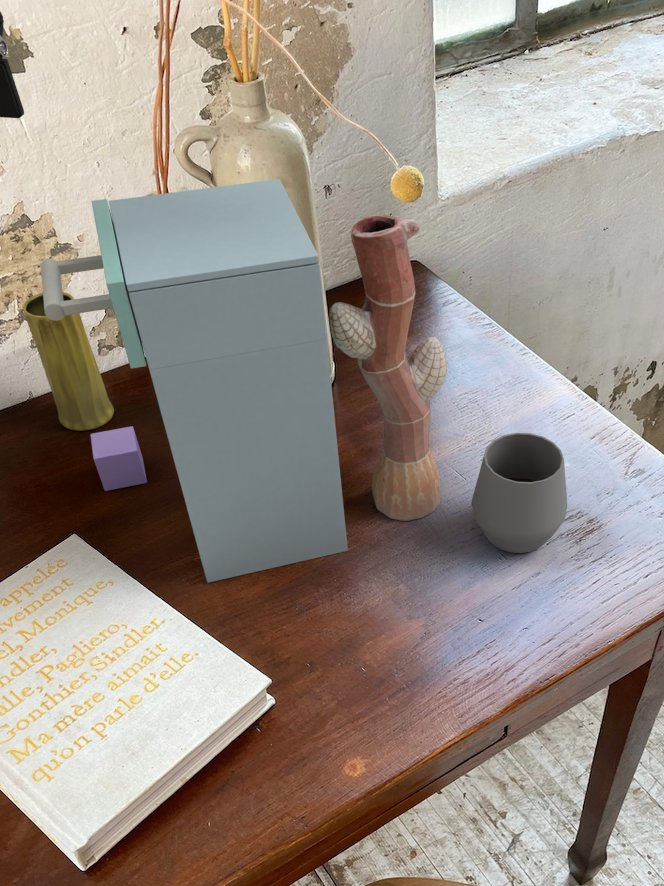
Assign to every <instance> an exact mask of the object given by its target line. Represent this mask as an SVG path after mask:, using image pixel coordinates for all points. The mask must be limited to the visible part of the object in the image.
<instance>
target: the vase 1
mask: <svg viewBox="0 0 664 886" xmlns="http://www.w3.org/2000/svg"><path fill="white" fill-rule="evenodd" d="M73 299H75V298H74V296H73V294H70V293H68V292H65V291H63V300H64V301H67V300H73ZM22 310H23V313H24V317H25V320H26V323H27V325H28V328H29V331H30V333H31V336H32V338H33V341H34V344H35V346H36V349H37V352H38V355H39V358H40V361H41V365H42V367H43V370H44V373H45V376H46V379H47V382H48V386H49V388H50V391H51V394H52V396H53V400H54V403H55V407H56V409H57V410H56V411H57V414H58V420H59V423H60V424H61V425H62V426H63V427H64V428H65V429H68V430H71V431H76V432H86V431H92V430H95V429H98V428H101V427H102V426H104V425H106V424H108V423H109V422H110V421H111V420H112V418H113V416H114V414H115V409H114V408H115V407H114V405H113V403H112V402H111V400H110V398H109V396H108V392H107V390H106V386H105V383H104V381H103V377H102V375H101V374H102V373H101V372H100V368H99V366H98V363H97V360H96V357H95V354H94V353H93V352H94V351H93V348H92V346H91V343H90V340H89V337H88V334H87V332H86V330H85V326H84V322H83V320H82V316H81V313H78V314H72V315H65V316H64V317H63V318H62V319H61V320H58V321H54V320H51V319H49V318H48V317H47V316H46V315H45V311H44V299H43V292H39V293H37V294H34V295H32V296H30V297H29V298H28V299H26V301H25V302H24V303H23V305H22Z"/></svg>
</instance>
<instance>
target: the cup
mask: <svg viewBox="0 0 664 886" xmlns="http://www.w3.org/2000/svg"><path fill="white" fill-rule="evenodd" d="M471 509H472V513H473V517H474V518H473V519H474V521H475V522H476V523H477V525H478V527H479V528H480V530H481V531H482V532H483V534H484V536H485V537H486V538H487V539H488V540H489V543H491V544H492V545H493V546H494V547H496V548H498V549H499V550H500V551H501V550H502V551H505V552H507V553H508V552H509V553H510V554H511V553H513V554H514V553H515V554H525V553H529V552H534V551H536V550H537V549H539V548H541V547H542V546H544V545H545V544H546V543H547V542H548V541H549V540H550V538H552V536H554V535H555V534H556V532H557V531H558V530H559V529H560V527H561V526H562V525H563V524H564V522H565V520H566V515H567V510H568V495H567V481H566V469H565V458H564V455H563V452H562V450H561V449H560V447H558V445H557V444H556V443H555V442H553V441H552V440H550V439H548V438H547V437H545V436H542V435H538V434H535V433H531V432H513V433H509V434H503V435H501V436H499V437H498V438H495V439H493V440H492V441H491V442H490V443H489V444H488V445H487V446H486V447H485V451H484V454H483V457H482V460H481V464H480V468H479V473H478V476H477V480H476V483H475V488H474V491H473V495H472V498H471Z"/></svg>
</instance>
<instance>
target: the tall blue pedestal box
mask: <svg viewBox="0 0 664 886" xmlns="http://www.w3.org/2000/svg"><path fill="white" fill-rule="evenodd" d="M108 205H109V209H110V212H111V216H112V220H113V224H114V229H115V233H116V238H117V243H118V248H119V253H120V257H121V262H122V267H123V272H124V277H125V282H126V286H127V290H128V293H129V297H130V301H131V304H132V308H133V312H134V315H135V319H136V323H137V326H138V330H139V334H140V337H141V341H142V345H143V350H144V355H145V360H146V364H147V366H148V370H149V375H150V377H151V382H152V385H153V389H154V392H155V396H156V399H157V403H158V407H159V411H160V414H161V419H162V422H163V425H164V429H165V433H166V436H167V440H168V444H169V448H170V451H171V455H172V458H173V462H174V465H175V469H176V472H177V476H178V477H177V478H178V481H179V484H180V488H181V491H182V495H183V499H184V502H185V505H186V510H187V513H188V517H189V521H190V523H191V524H190V525H191V528H192V532H193V536H194V539H195V543H196V546H197V550H198V553H199V558H200V561H201V565H202V568H203V573H204V577H205V579H206V583H207V584H209V583H212V582H218V581H221V580H222V581H223V580H226V579H230V578H235V577H239V576H244V575H247V574H248V575H249V574H252V573H258V572H261V571H266V570H270V569H274V568H279V567H283V566H288V565H292V564H296V563H301V562H306V561H310V560H313V559H319V558H323V557H328V556H332V555H335V554H340V553H345V552H348V550H349V548H348V540H347V538H348V537H347V529H346V520H345V509H344V498H343V489H342V479H341V468H340V459H339V458H340V457H339V449H338V439H337V438H338V437H337V428H336V427H337V426H336V418H335V408H334V407H335V406H334V398H333V387H332V377H331V367H330V359H329V348H328V338H327V328H326V317H325V308H324V296H323V285H322V277H321V267H320V257H319V254H318V252H317V250H316V248H315V246H314V244H313V242H312V240H311V238H310V236H309V234H308V232H307V230H306V228H305V226H304V224H303V223H302V220H301V218H300V216H299V214H298V213H297V210H296V208H295V207H294V204H293V202H292V200H291V198H290V197H289V194H288V193H287V191H286V188H285V187H284V185H283V183H282V181H281V179H280V178H274V179H267V180H260V181H253V182H245V183H237V184H230V185H221V186H212V187H206V188H205V187H204V188H199V189H189V190H182V191H175V192H173V191H172V192H165V193H158V194H152V195H144V196H135V197H128V198H127V197H126V198H120V199H112V200H109V201H108Z"/></svg>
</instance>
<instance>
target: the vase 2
mask: <svg viewBox="0 0 664 886" xmlns="http://www.w3.org/2000/svg"><path fill="white" fill-rule="evenodd" d="M419 231H420V226H419V224H418V222H416V220H415V219H413V218H403V217H396V216H391V215H385V214H371V215H369V216H366V217H363V218H361V219H360V220H359V221H357V222H356V223H354V224H353V226H352V229H351V232H350V233H351V235H350V238H351V243H352V246H353V249H354V250H353V251H354V252H355V257H356V261H357V265H358V268H359V272H360V275H361V278H362V282H363V288H364V293H365V296H364V302H363V304H362V307H361V308H360V307H358V306H354V305H352V304H350V303H345V302H341V301H338V302H334V303H333V304H332V305H331V306H330V308H329V313H328V316H329V317H328V318H329V319H328V320H329V327H330V328H329V329H330V333H331V337H332V339H333V341H334V344H335V346H336V347H337V349H339V350H340V351H341V352H343V353H344V354H345V355H347V356H348V357H350V358H352V359H353V358H354V359H356V360H357V364H358V368H359V371H360V372H361V374H362V376H363V378H364V380H365V382H366V383H367V385H368V387H369V388H370V389H371V391H372V393H373V395H374V396H375V397H376V400H377V402H378V403H379V405H380V407H381V410H382V415H383V425H384V426H383V431H384V432H383V444H382V450H381V453H380V455H379V457H378V460H377V463H376V466H375V468H374V472H373V475H372V479H371V494H372V498H373V501H374V505H375V509H376V510H377V511H378V512H380V513H382V514H383V515H384V516H386V517H388V518H389V519H391V520H395V521H402V522H408V521H414V520H419V519H423V518H424V517H426V516H428V515H431V514H432V513H434V511H435V510H436V509H437V508H438V507H439V505H440V503H442V490H441V478H440V473H439V469H438V466H437V463H436V460H435V459H434V456H433V454H432V451H431V447H430V428H431V418H432V417H431V416H432V409H431V402H430V401H431V400H432V399H433V397H434V396H436V394H438V392H439V391H440V390H441V388H442V386H443V385H444V383H445V381H446V378H447V375H448V358H447V354H446V351H445V348H444V346H443V343H441V342H440V341H439V339H438V338H437V337H435V336H431V337H430V336H429V337H426V338H425V339H424V340H422V341H421V342H420V343H419V344H418V345H417V346H416V348H415V349H414V350H413V352H412V353H411V354H410V355H409V357H407V354H406V352H407V341H408V335H409V329H410V323H411V319H412V313H413V309H414V303H415V298H416V286H415V285H416V284H415V277H414V273H413V268H412V263H411V259H410V253H409V248H408V240H409V239H411V238H413V236H415V235H417V233H418V232H419Z"/></svg>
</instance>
